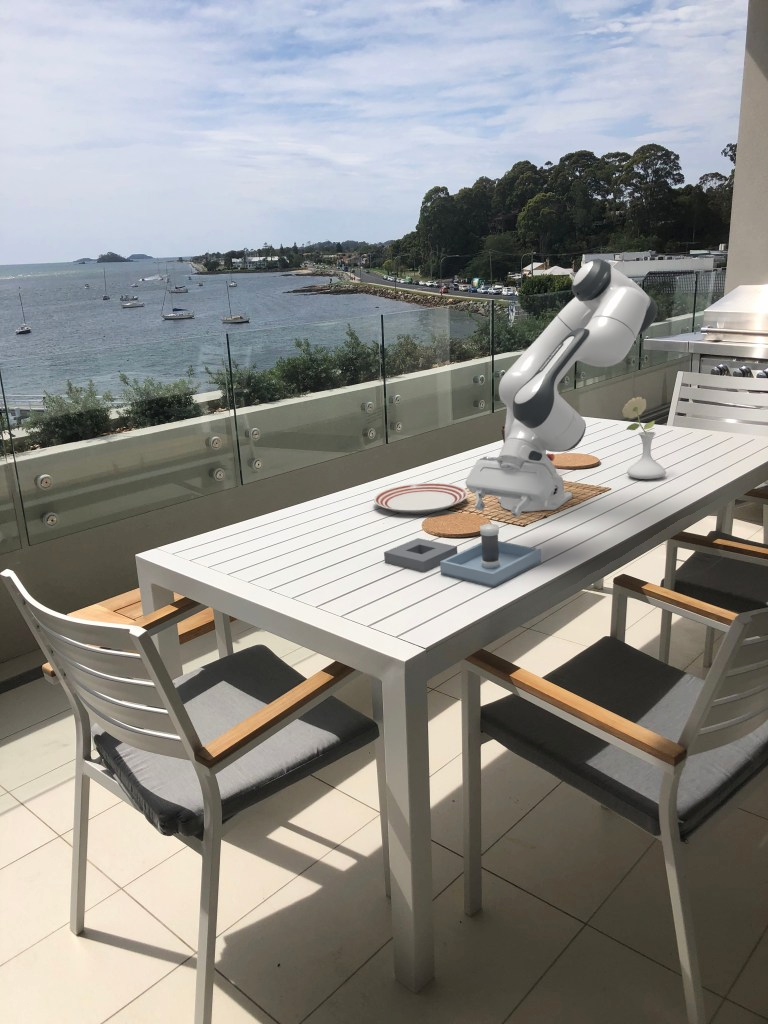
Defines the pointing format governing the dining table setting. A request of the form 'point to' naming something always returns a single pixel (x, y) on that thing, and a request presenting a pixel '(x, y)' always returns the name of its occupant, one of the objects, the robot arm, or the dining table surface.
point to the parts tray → (471, 569)
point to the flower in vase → (646, 464)
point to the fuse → (490, 546)
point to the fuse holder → (419, 554)
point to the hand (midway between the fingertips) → (496, 512)
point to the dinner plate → (421, 497)
